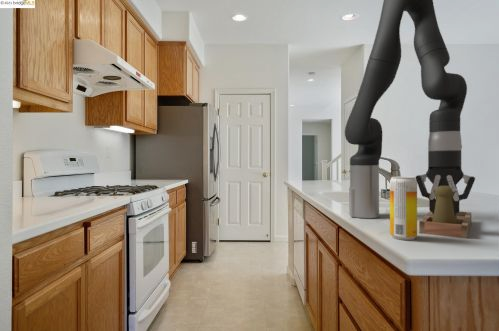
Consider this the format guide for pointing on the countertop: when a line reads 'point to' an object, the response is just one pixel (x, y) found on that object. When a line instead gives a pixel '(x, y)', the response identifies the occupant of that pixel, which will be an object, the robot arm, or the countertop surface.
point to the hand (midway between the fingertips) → (444, 213)
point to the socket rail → (446, 226)
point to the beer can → (403, 207)
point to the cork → (444, 205)
